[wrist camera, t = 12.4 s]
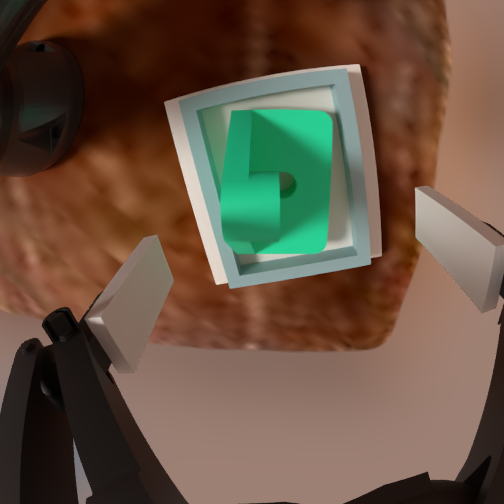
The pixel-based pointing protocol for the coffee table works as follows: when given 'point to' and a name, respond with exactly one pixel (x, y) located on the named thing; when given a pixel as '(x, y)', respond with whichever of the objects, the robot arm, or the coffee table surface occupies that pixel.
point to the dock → (342, 172)
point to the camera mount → (277, 181)
